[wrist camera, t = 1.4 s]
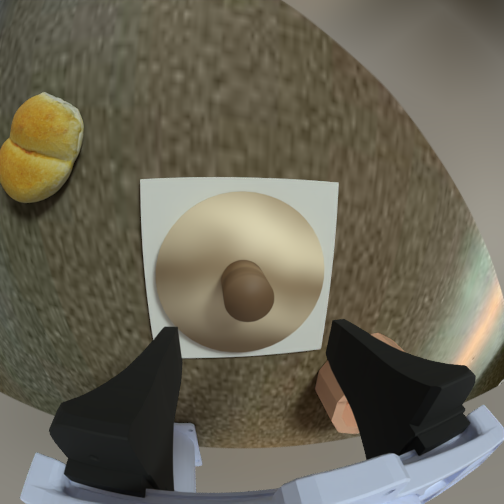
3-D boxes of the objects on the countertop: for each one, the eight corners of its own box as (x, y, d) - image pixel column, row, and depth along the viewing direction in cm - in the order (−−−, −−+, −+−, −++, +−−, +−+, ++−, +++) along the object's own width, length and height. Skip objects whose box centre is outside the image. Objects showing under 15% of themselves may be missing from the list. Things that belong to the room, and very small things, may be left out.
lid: (312, 341, 24) (329, 368, 20) (166, 348, 22) (159, 380, 18) (326, 194, 21) (353, 198, 17) (153, 192, 19) (139, 195, 15)
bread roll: (1, 178, 16) (-26, 181, 13) (42, 89, 15) (18, 78, 11) (55, 220, 19) (30, 228, 15) (103, 121, 17) (83, 110, 14)
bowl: (382, 394, 29) (401, 418, 24) (310, 411, 27) (323, 442, 22) (404, 327, 26) (431, 349, 22) (324, 341, 25) (345, 372, 20)
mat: (318, 346, 25) (320, 348, 24) (157, 354, 23) (156, 357, 22) (335, 182, 21) (338, 182, 21) (142, 179, 19) (140, 179, 18)
